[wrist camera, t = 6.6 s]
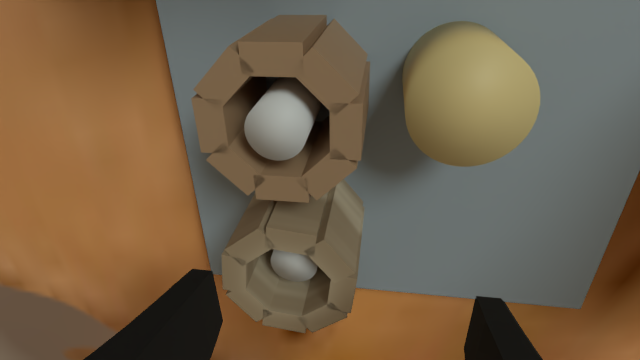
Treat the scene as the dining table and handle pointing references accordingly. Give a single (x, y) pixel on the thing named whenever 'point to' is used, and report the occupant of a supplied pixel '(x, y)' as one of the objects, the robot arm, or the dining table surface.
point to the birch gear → (302, 238)
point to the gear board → (454, 204)
